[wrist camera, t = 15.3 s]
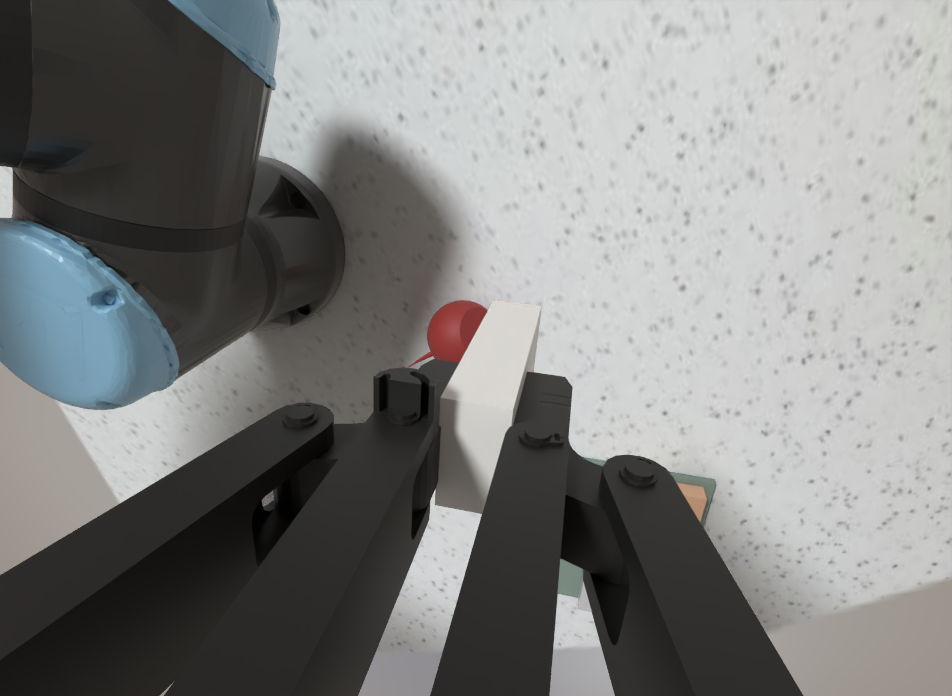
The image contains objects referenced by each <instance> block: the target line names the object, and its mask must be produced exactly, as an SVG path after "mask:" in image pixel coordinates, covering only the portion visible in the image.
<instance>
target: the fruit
mask: <svg viewBox="0 0 952 696" xmlns="http://www.w3.org/2000/svg"><path fill="white" fill-rule="evenodd" d="M487 311H488V310H487V309H486V308H484V307H483V306H481V305H479V304H477V303H475V302H471V301H464V300H461V301H454V302H451V303H448V304H446V305H445V306H443V307H442V308H440V309H439V310H438V311H437V312H436V313H435V315H434V316H433V318H432V319H431V321H430V324H429V327H428V332H427V340H428V345H429V348H430V351H431V352H429V353H427V354H426V355H424V356H423V357H421V358H420V359H418V360H417V361H416V362H414V363H413V364H412V365H414V364H416V363H418V362H420V361H422V360H425V359H427V358H429V357H431V356H434V358H435V359H437V360H444V361H451V362H458V363H460V361H461V359H462V357H463V355H464V354H465V352H466V350H467V348H468V346H469V344H470V342H471V341H472V339H473V337H474V335H475V333H476V331H477V330H478V328H479V326H480V324H481V322H482V320H483V319H484V317H485V315H486V313H487ZM412 365H410V366H412ZM410 366H409V367H410ZM402 368H405V367H402ZM407 368H408V367H407Z"/></svg>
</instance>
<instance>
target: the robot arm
mask: <svg viewBox="0 0 952 696" xmlns="http://www.w3.org/2000/svg"><path fill="white" fill-rule="evenodd" d="M279 32H280V18H279V13H278V10H277V7H276V5H275V2H274V1H273V0H0V166H6V167H12V168H13V214H12V217H11V218H0V361H1V362H2V364H3V365H5V366H6V367H7V368H8V369H9V370H10V371H11V372H12V373H13V374H15V375H16V376H17V377H19V378H20V379H21V380H23V381H24V382H25V383H27V384H28V385H30V386H31V387H33V388H34V389H36V390H38V391H40V392H41V393H43V394H45V395H47V396H49V397H51V398H53V399H55V400H58V401H60V402H63V403H65V404H69V405H72V406H76V407H80V408H85V409H93V410H107V409H115V408H119V407H124V406H126V405H129V404H132V403H134V402H136V401H137V400H139V399H141V398H143V397H145V396H147V395H149V394H150V393H152V392H156V391H160V390H164V389H166V388H167V387H169V386H170V385H172V384H173V381H175V380H176V379H177V378H179V377H181V376H182V375H184V374H185V373H187V372H188V371H190V370H191V369H193V368H194V367H196V366H197V365H199V364H200V363H202V362H203V361H205V360H207V359H208V358H210V357H211V356H213V355H214V354H216V353H217V352H219V351H220V350H222V349H223V348H225V347H226V346H228V345H230V344H231V343H233V342H234V341H236V340H238V339H239V338H241V337H242V336H244V335H245V334H247V333H248V332H252V331H263V330H274V329H282V328H287V327H290V326H293V325H296V324H299V323H301V322H303V321H305V320H306V319H308V318H309V317H311V316H312V315H314V314H315V313H317V312H318V311H319V310H321V309H322V308H323V307H324V306H325V305H326V304H327V303H328V302H329V301H330V300H331V298H332V297H333V295H334V294H335V292H336V290H337V288H338V286H339V284H340V281H341V278H342V274H343V269H344V261H345V250H344V241H343V236H342V232H341V228H340V225H339V222H338V220H337V217H336V215H335V213H334V211H333V209H332V207H331V205H330V204H329V202H328V201H327V199H326V198H325V196H324V195H323V194H322V192H321V191H320V190H319V189H318V188H317V186H316V185H315V184H314V183H313V182H312V181H310V180H309V179H308V178H307V177H306V176H305V175H303V174H302V173H301V172H299V171H298V170H296V169H295V168H293V167H291V166H289V165H287V164H285V163H283V162H281V161H278V160H275V159H272V158H267V157H262V156H259V153H260V148H261V142H262V137H263V132H264V127H265V122H266V117H267V112H268V107H269V102H270V97H271V92H272V90H275V87H276V82H275V79H274V77H273V75H274V68H275V60H276V53H277V46H278V39H279ZM541 307H542V306H536V305H528V304H521V303H513V302H505V301H498V300H493V302H492V304H491V306H490V308H489V309H488V311H487V313H486V315H485V317H484V319H483V320H482V322H481V324H480V326H479V328H478V330H477V331H476V333H475V335H474V337H473V339H472V341H471V342H470V344H469V346H468V348H467V350H466V352H465V354H464V355H463V357H462V359H461V361H460V363H458V362H451V361H444V360H437V359H433V360H431V361H429V362H427V363H425V364H423V365H422V366H421V367H420V368H419V369H418V370H417V369H412V368H396V369H389V370H386V371H383V372H380V373H379V374H377V375H376V376H374V412H373V413H372V415H371V416H370V417H369V419H368V420H367V421H366V423H358V424H334V415H333V413H332V412H331V411H330V409H328V408H326V407H324V406H322V405H317V404H312V403H297V404H293V405H288V406H285V407H283V408H280V409H278V410H276V411H274V412H272V413H271V414H269V415H267V416H266V417H264V418H262V419H261V420H259V421H257V422H256V423H254V424H252V425H251V426H249V427H247V428H246V429H244V430H242V431H241V432H239V433H237V434H236V435H234V436H232V437H231V438H229V439H227V440H226V441H224V442H222V443H221V444H219V445H217V446H216V447H214V448H212V449H211V450H209V451H207V452H206V453H204V454H202V455H201V456H199V457H197V458H196V459H194V460H192V461H191V462H189V463H187V464H185V465H184V466H182V467H180V468H179V469H177V470H175V471H174V472H172V473H170V474H169V475H167V476H165V477H164V478H162V479H160V480H159V481H157V482H155V483H154V484H152V485H150V486H149V487H147V488H145V489H144V490H142V491H140V492H139V493H137V494H135V495H134V496H132V497H130V498H129V499H127V500H125V501H124V502H122V503H120V504H119V505H117V506H115V507H114V508H112V509H110V510H109V511H107V512H105V513H104V514H102V515H100V516H99V517H97V518H95V519H93V520H92V521H90V522H89V523H87V524H85V525H83V526H82V527H80V528H78V529H77V530H75V531H73V532H72V533H71V534H68V535H67V536H65V537H63V538H62V539H60V540H58V541H57V542H55V543H53V544H52V545H50V546H48V547H47V548H45V549H43V550H42V551H40V552H38V553H37V554H35V555H33V556H32V557H30V558H28V559H27V560H25V561H23V562H22V563H20V564H18V565H17V566H15V567H13V568H12V569H10V570H8V571H7V572H5V573H3V574H1V575H0V696H159V695H160V694H162V692H164V691H165V690H166V689H167V688H168V687H169V686H170V685H171V684H172V683H173V682H174V683H173V684H172V685H171V687H170V688H169V690H168V691H167V692H166V694H165V695H164V696H358V694H359V692H360V689H361V687H362V684H363V682H364V679H365V677H366V674H367V672H368V670H369V667H370V665H371V662H372V660H373V657H374V655H375V652H376V650H377V647H378V645H379V642H380V640H381V637H382V635H383V632H384V630H385V627H386V625H387V623H388V620H389V618H390V615H391V613H392V610H393V608H394V605H395V603H396V600H397V598H398V595H399V593H400V590H401V588H402V585H403V583H404V580H405V578H406V576H407V573H408V571H409V568H410V566H411V563H412V561H413V558H414V556H415V553H416V551H417V548H418V546H419V543H420V541H421V538H422V536H423V533H424V531H425V529H426V526H427V524H428V521H429V514H430V500H431V497H432V495H433V493H434V490H435V488H436V495H435V505H438V506H444V507H449V508H454V509H459V510H465V511H470V512H475V513H480V514H482V517H481V520H480V524H479V527H478V531H477V534H476V538H475V541H474V545H473V548H472V552H471V555H470V559H469V562H468V566H467V569H466V573H465V576H464V580H463V583H462V587H461V590H460V594H459V597H458V601H457V604H456V608H455V611H454V615H453V618H452V622H451V625H450V629H449V632H448V636H447V639H446V643H445V646H444V650H443V653H442V657H441V660H440V664H439V667H438V671H437V674H436V678H435V681H434V685H433V688H432V692H431V695H430V696H549V692H550V679H551V667H552V655H553V643H554V631H555V618H556V606H557V594H558V581H559V569H560V559H563V560H565V561H567V562H569V563H571V564H573V565H575V566H577V567H580V568H582V569H583V582H584V586H585V589H586V593H587V596H588V600H589V604H590V607H591V611H592V614H593V618H594V622H595V625H596V629H597V632H598V636H599V640H600V643H601V647H602V650H603V654H604V658H605V661H606V665H607V668H608V672H609V676H610V679H611V683H612V686H613V690H614V693H615V696H803V695H802V693H801V691H800V689H799V688H798V686H797V685H796V683H795V681H794V680H793V678H792V676H791V674H790V673H789V671H788V669H787V668H786V666H785V664H784V663H783V661H782V659H781V657H780V656H779V654H778V653H777V651H776V649H775V647H774V646H773V644H772V642H771V641H770V639H769V637H768V636H767V634H766V632H765V631H764V629H763V627H762V626H761V624H760V622H759V621H758V619H757V617H756V615H755V614H754V612H753V610H752V609H751V607H750V605H749V604H748V602H747V600H746V599H745V597H744V595H743V594H742V592H741V590H740V589H739V587H738V585H737V584H736V582H735V580H734V579H733V577H732V575H731V573H730V572H729V570H728V568H727V567H726V565H725V563H724V562H723V560H722V558H721V557H720V555H719V553H718V552H717V550H716V548H715V547H714V545H713V543H712V542H711V540H710V538H709V537H708V535H707V533H706V532H705V530H704V528H703V526H702V525H701V523H700V521H699V520H698V518H697V516H696V515H695V513H694V511H693V510H692V508H691V506H690V505H689V503H688V501H687V500H686V498H685V496H684V495H683V493H682V491H681V490H680V488H679V486H678V484H677V483H676V481H675V479H674V478H673V476H672V475H671V474H670V473H669V472H668V471H667V469H666V468H664V467H663V466H661V465H659V464H658V463H656V462H655V461H652V460H650V459H646V458H644V457H641V456H633V455H619V456H615V457H612V458H610V459H608V460H607V461H606V463H605V464H604V465H603V466H600V465H597V464H595V463H592V462H590V461H588V460H586V459H584V458H583V457H581V456H580V455H578V454H577V453H576V452H575V451H574V450H573V449H572V447H571V446H570V443H569V439H568V435H569V423H570V411H571V398H572V386H571V385H570V383H569V382H568V380H567V379H566V378H565V377H561V376H554V375H548V374H541V373H534V372H533V371H534V363H535V355H536V347H537V339H538V331H539V323H540V315H541ZM272 490H273V494H274V500H273V501H272V502H271V503H269V504H268V505H266V506H264V507H263V506H262V499H263V498H264V497H265V496H266V495H267V494H269V493H270V492H271V491H272Z"/></svg>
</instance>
